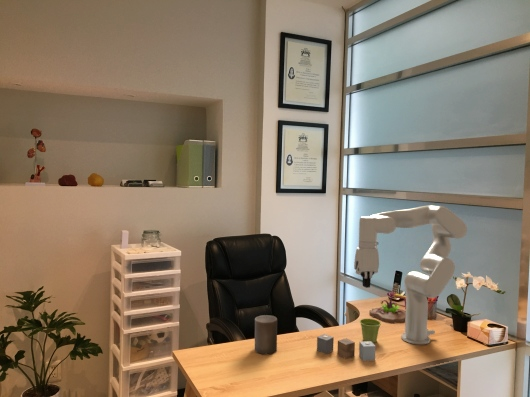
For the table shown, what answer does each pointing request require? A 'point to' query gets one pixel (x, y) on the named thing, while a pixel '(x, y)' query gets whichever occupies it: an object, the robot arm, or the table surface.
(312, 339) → the table surface
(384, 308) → the plant
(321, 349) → the charcoal block
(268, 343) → the pillar candle
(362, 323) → the plant pot
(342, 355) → the walnut block
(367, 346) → the slate block
